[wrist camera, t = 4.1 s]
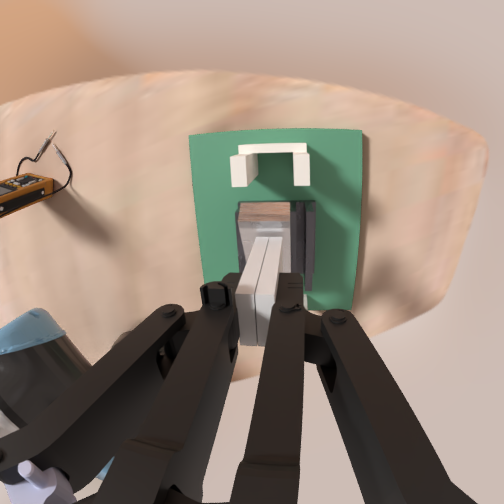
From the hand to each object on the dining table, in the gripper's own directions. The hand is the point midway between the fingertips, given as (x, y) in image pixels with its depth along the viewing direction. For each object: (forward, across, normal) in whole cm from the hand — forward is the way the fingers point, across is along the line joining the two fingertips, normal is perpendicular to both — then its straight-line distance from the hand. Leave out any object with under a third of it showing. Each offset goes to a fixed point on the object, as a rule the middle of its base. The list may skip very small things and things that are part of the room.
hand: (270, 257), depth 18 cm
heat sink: (+14, 0, +3) cm, 14 cm away
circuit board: (+15, 0, +2) cm, 15 cm away
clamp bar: (+5, 0, +4) cm, 7 cm away
